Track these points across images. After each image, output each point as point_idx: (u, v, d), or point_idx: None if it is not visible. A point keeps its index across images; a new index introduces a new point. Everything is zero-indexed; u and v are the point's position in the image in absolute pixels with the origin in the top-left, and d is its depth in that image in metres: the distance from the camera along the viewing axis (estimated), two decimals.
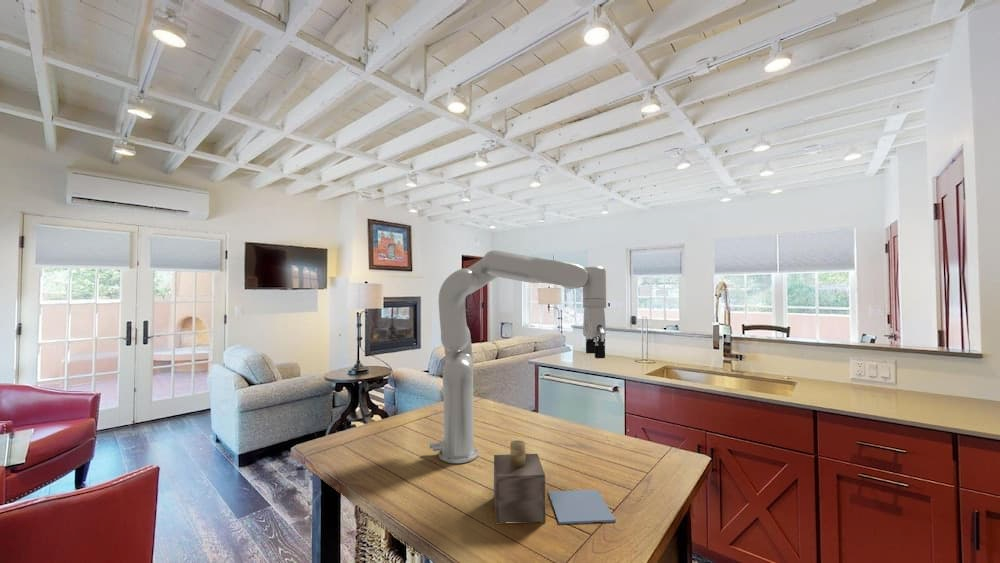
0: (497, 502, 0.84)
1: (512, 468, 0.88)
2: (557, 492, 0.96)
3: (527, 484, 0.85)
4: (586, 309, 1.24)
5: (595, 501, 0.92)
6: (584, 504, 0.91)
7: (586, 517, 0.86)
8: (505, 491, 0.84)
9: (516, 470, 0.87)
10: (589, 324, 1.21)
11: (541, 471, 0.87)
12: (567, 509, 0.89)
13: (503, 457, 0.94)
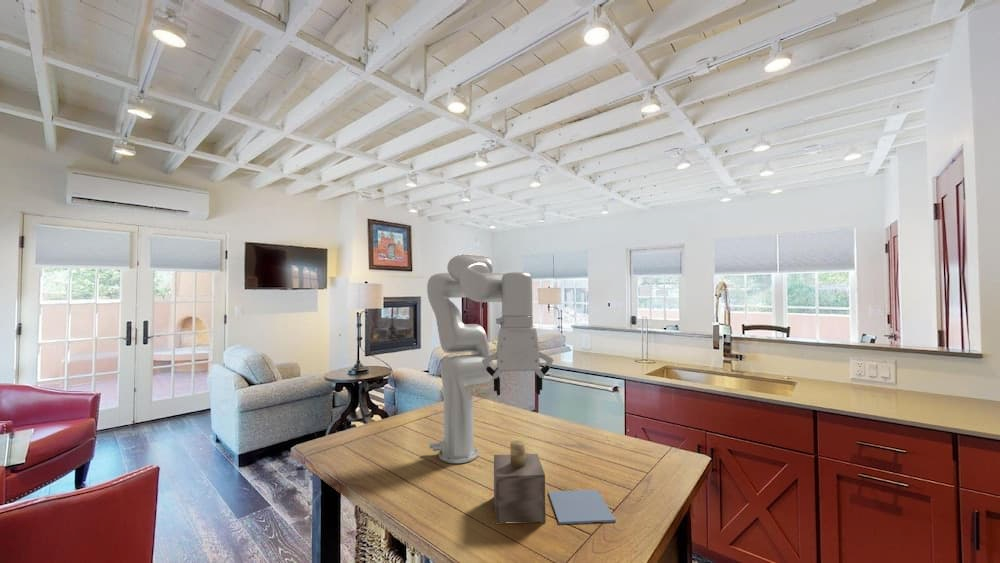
0: (497, 502, 0.84)
1: (512, 468, 0.88)
2: (557, 492, 0.96)
3: (527, 484, 0.85)
4: (517, 331, 0.89)
5: (595, 501, 0.92)
6: (584, 504, 0.91)
7: (586, 517, 0.86)
8: (505, 491, 0.84)
9: (516, 470, 0.87)
10: (531, 351, 0.89)
11: (541, 471, 0.87)
12: (567, 509, 0.89)
13: (503, 457, 0.94)
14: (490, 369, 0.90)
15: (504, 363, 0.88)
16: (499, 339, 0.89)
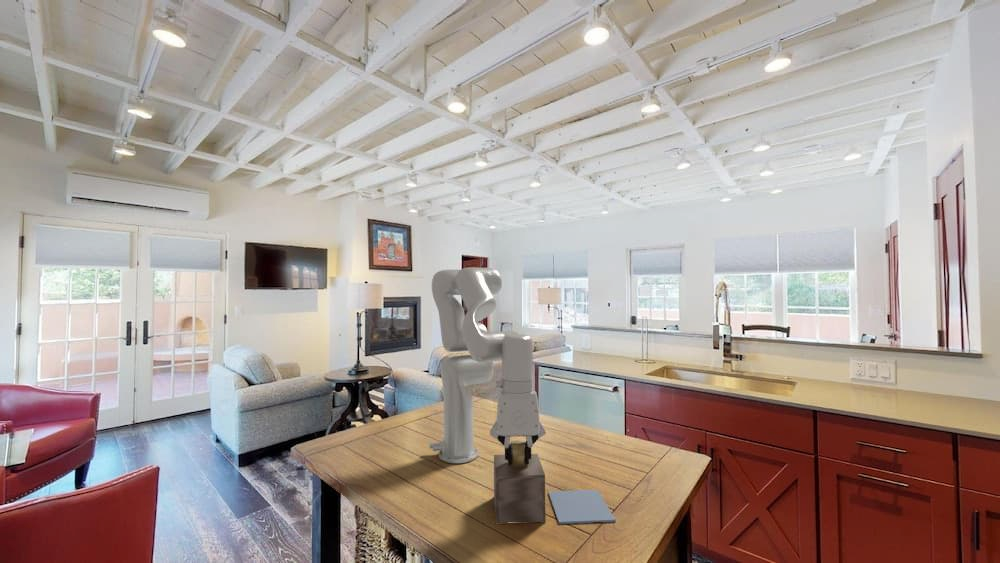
0: (497, 502, 0.84)
1: (512, 468, 0.88)
2: (557, 492, 0.96)
3: (527, 484, 0.85)
4: (517, 396, 0.88)
5: (595, 501, 0.92)
6: (584, 504, 0.91)
7: (586, 517, 0.86)
8: (505, 491, 0.84)
9: (516, 470, 0.87)
10: (532, 416, 0.88)
11: (541, 471, 0.87)
12: (567, 509, 0.89)
13: (503, 457, 0.94)
14: (501, 438, 0.90)
15: (504, 428, 0.88)
16: (499, 404, 0.89)
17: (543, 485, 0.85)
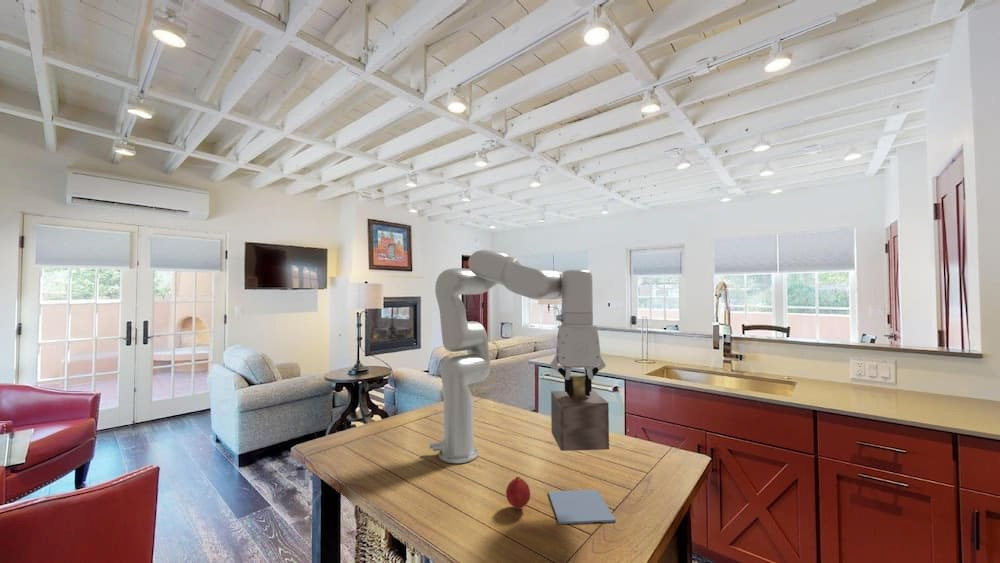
0: (562, 429, 0.86)
1: (574, 399, 0.89)
2: (557, 492, 0.96)
3: (591, 412, 0.86)
4: (579, 328, 0.90)
5: (595, 501, 0.92)
6: (584, 504, 0.91)
7: (586, 517, 0.86)
8: (569, 418, 0.86)
9: (578, 400, 0.89)
10: (593, 347, 0.90)
11: (603, 400, 0.88)
12: (567, 509, 0.89)
13: (561, 392, 0.95)
14: (562, 370, 0.91)
15: (566, 359, 0.89)
16: (561, 336, 0.90)
17: (606, 413, 0.86)
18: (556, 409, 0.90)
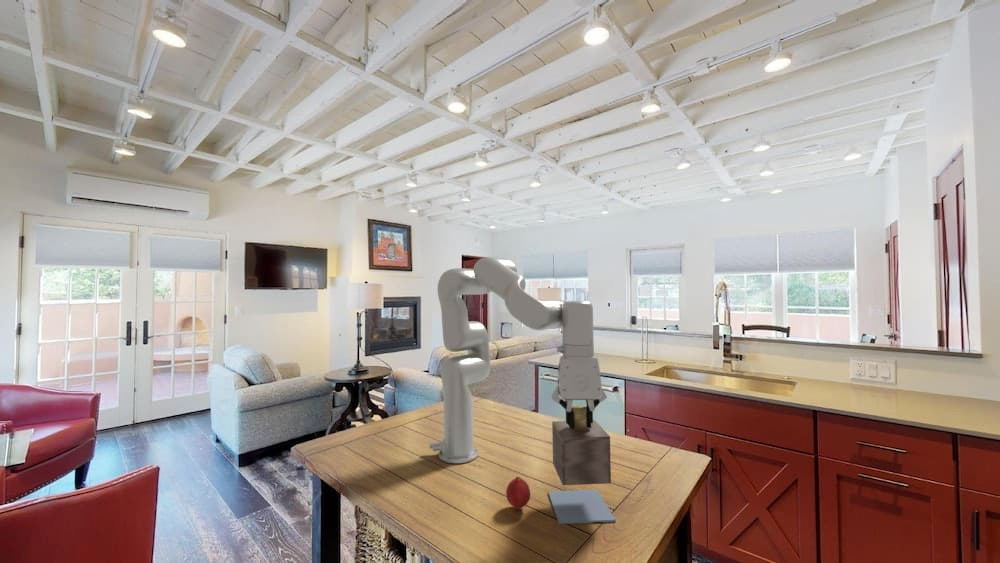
0: (563, 463, 0.85)
1: (575, 431, 0.89)
2: (557, 492, 0.96)
3: (592, 446, 0.86)
4: (580, 360, 0.89)
5: (595, 501, 0.92)
6: (584, 504, 0.91)
7: (586, 517, 0.86)
8: (571, 452, 0.85)
9: (579, 433, 0.88)
10: (594, 380, 0.89)
11: (604, 433, 0.88)
12: (567, 509, 0.89)
13: (562, 423, 0.95)
14: (563, 402, 0.91)
15: (567, 392, 0.89)
16: (562, 368, 0.90)
17: (608, 447, 0.86)
18: (557, 441, 0.90)
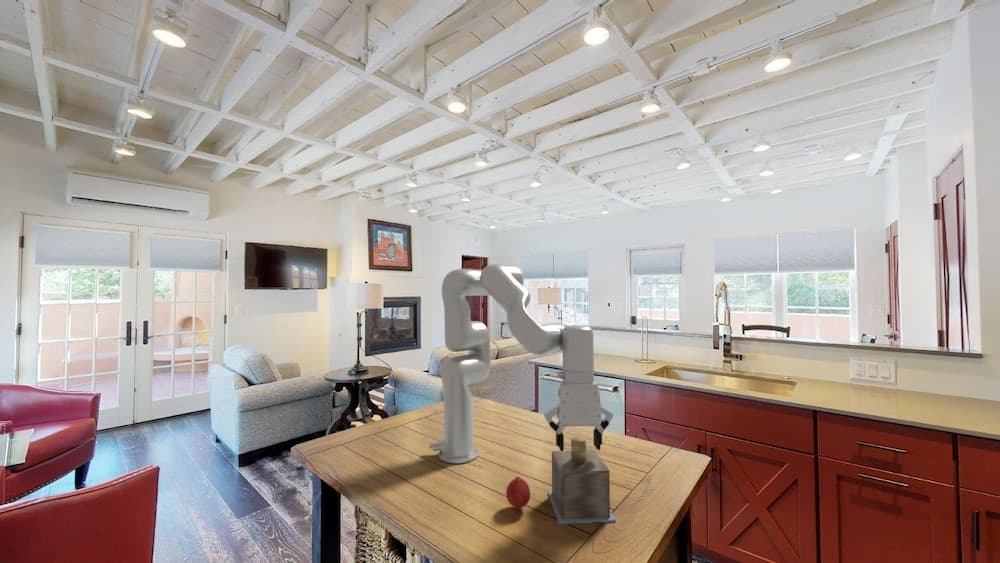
0: (562, 497, 0.85)
1: (574, 464, 0.89)
2: None
3: (592, 480, 0.86)
4: (580, 386, 0.89)
5: None
6: None
7: None
8: (570, 486, 0.85)
9: (579, 465, 0.88)
10: (594, 406, 0.89)
11: (604, 466, 0.88)
12: None
13: (562, 453, 0.95)
14: (553, 424, 0.90)
15: (567, 418, 0.89)
16: (562, 394, 0.89)
17: (607, 481, 0.86)
18: (557, 474, 0.90)
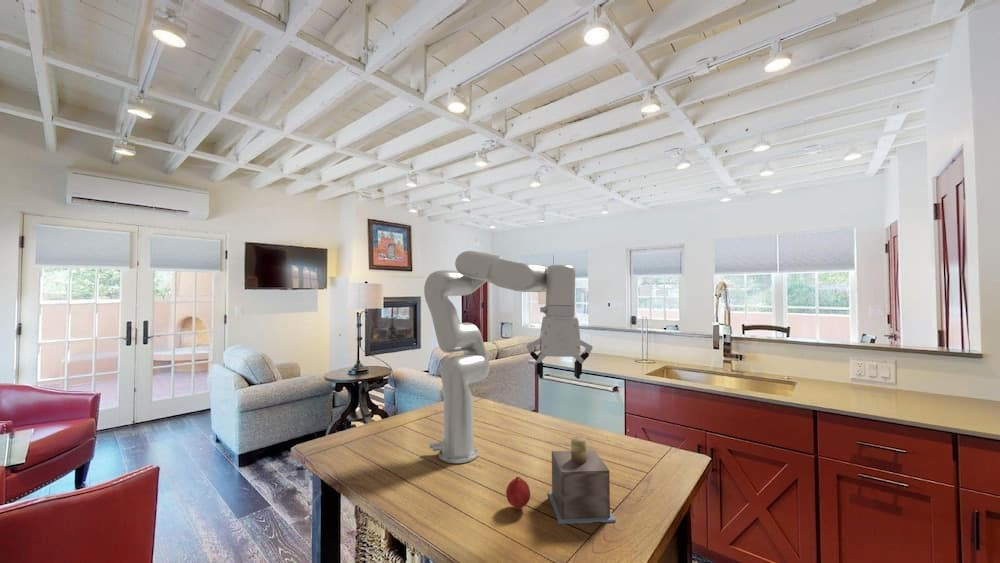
0: (562, 497, 0.85)
1: (574, 464, 0.89)
2: None
3: (592, 480, 0.86)
4: (561, 320, 0.95)
5: None
6: None
7: None
8: (570, 486, 0.85)
9: (579, 465, 0.88)
10: (573, 338, 0.95)
11: (604, 466, 0.88)
12: None
13: (562, 453, 0.95)
14: (534, 354, 0.97)
15: (548, 349, 0.95)
16: (544, 326, 0.96)
17: (607, 481, 0.86)
18: (557, 474, 0.90)
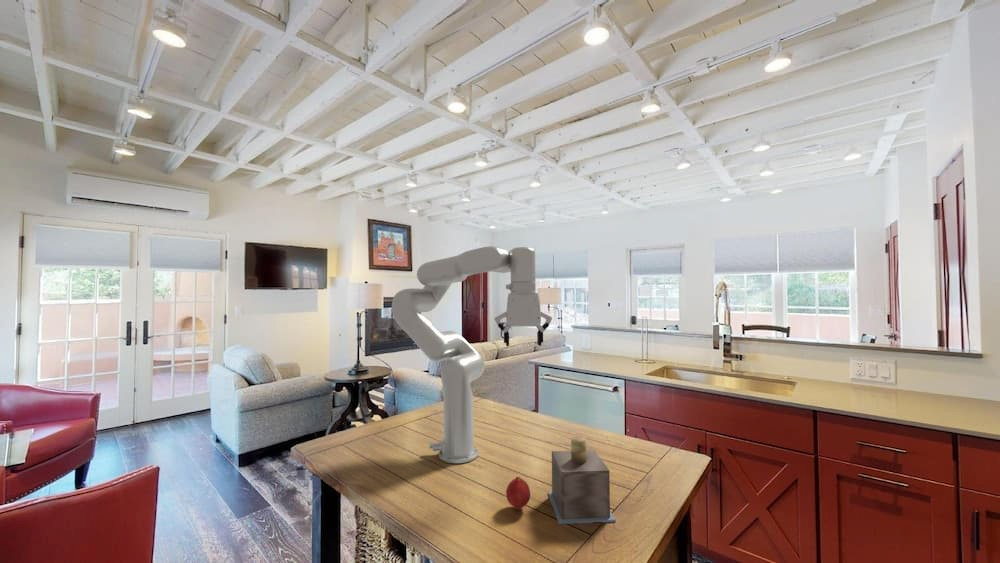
0: (562, 497, 0.85)
1: (574, 464, 0.89)
2: None
3: (592, 480, 0.86)
4: (523, 294, 1.10)
5: None
6: None
7: None
8: (570, 486, 0.85)
9: (579, 465, 0.88)
10: (534, 310, 1.10)
11: (604, 466, 0.88)
12: None
13: (562, 453, 0.95)
14: (501, 325, 1.11)
15: (512, 320, 1.10)
16: (508, 300, 1.10)
17: (607, 481, 0.86)
18: (557, 474, 0.90)
